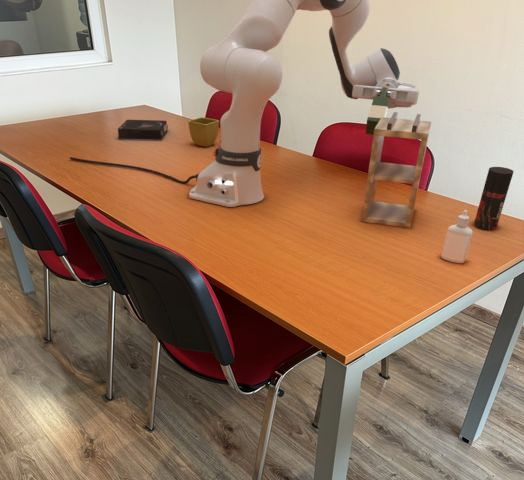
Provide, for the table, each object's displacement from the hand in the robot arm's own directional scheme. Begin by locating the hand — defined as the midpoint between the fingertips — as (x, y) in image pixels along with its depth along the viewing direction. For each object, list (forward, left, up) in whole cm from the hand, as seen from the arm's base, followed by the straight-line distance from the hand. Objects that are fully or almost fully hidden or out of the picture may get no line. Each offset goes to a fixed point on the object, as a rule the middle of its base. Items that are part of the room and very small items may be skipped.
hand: (383, 94), depth 154 cm
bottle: (0, -5, -5) cm, 7 cm away
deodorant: (+35, -26, -26) cm, 51 cm away
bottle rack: (+9, -28, -26) cm, 40 cm away
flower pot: (-68, +21, -26) cm, 76 cm away
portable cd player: (-97, +26, -26) cm, 104 cm away
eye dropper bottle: (+27, -51, -26) cm, 64 cm away
